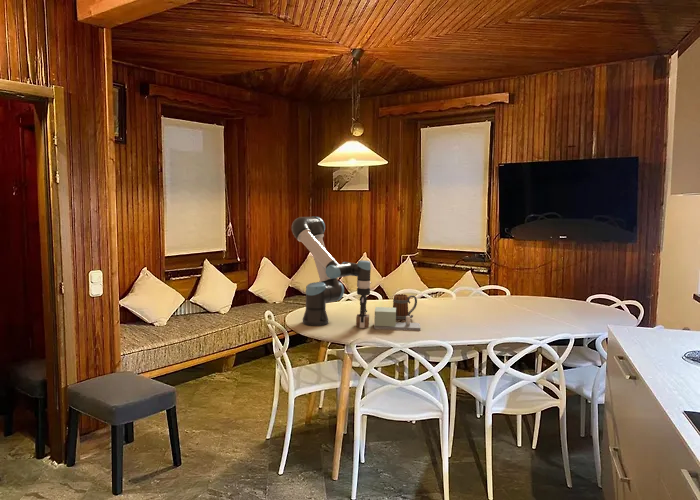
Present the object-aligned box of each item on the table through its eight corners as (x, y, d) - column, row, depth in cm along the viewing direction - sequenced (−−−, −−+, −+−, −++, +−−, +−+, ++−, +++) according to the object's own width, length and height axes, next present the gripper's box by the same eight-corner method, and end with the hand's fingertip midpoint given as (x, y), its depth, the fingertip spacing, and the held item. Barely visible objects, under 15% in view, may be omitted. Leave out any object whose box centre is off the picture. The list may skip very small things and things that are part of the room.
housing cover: (374, 325, 312) (374, 311, 311) (375, 320, 324) (375, 306, 323) (395, 326, 311) (395, 312, 310) (395, 321, 322) (396, 307, 322)
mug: (394, 321, 330) (394, 297, 328) (389, 317, 340) (390, 293, 339) (418, 320, 333) (419, 296, 331) (413, 317, 343) (414, 293, 342)
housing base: (374, 328, 312) (374, 317, 311) (375, 323, 324) (375, 312, 323) (420, 330, 310) (420, 319, 309) (419, 325, 321) (420, 314, 321)
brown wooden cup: (356, 327, 315) (356, 316, 315) (357, 324, 322) (357, 314, 321) (368, 327, 315) (368, 317, 314) (369, 324, 322) (369, 314, 321)
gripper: (369, 291, 304) (368, 330, 307) (371, 284, 327) (370, 321, 329) (355, 290, 305) (354, 330, 307) (358, 284, 327) (357, 320, 330)
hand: (362, 325), depth 318 cm, fingers open, 10 cm apart
